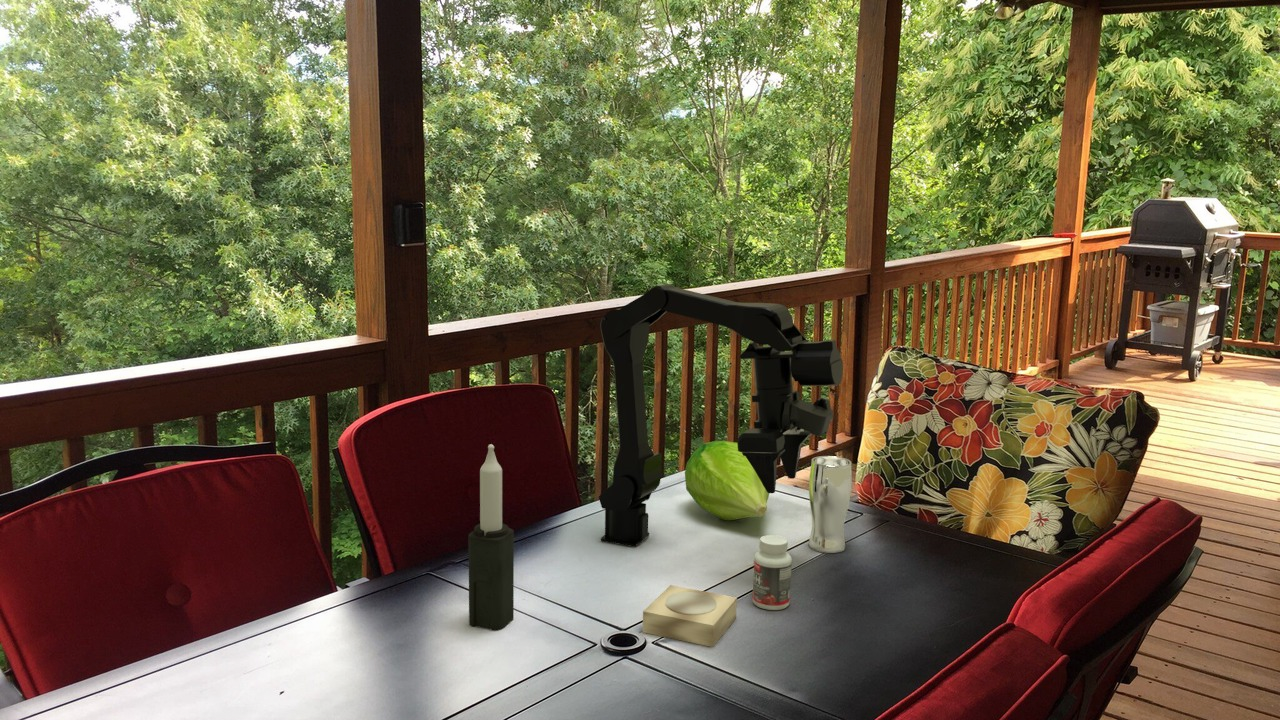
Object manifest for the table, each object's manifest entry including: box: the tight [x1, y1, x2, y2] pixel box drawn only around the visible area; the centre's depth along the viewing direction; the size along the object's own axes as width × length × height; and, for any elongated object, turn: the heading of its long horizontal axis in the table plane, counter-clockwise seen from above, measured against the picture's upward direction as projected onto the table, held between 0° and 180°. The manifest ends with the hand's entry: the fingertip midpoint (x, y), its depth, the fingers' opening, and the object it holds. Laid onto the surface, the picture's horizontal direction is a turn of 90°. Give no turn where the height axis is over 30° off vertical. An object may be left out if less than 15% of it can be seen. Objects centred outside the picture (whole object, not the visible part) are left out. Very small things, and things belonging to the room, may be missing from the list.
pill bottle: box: [752, 534, 793, 611], centre depth 144 cm, size 5×5×10 cm
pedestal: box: [642, 584, 738, 648], centre depth 137 cm, size 10×10×3 cm
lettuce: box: [684, 440, 770, 521], centre depth 181 cm, size 15×22×15 cm
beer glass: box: [808, 455, 853, 554], centre depth 167 cm, size 7×7×15 cm
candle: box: [468, 443, 515, 631], centre depth 135 cm, size 5×5×25 cm
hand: (781, 485), depth 155 cm, fingers open, 9 cm apart
